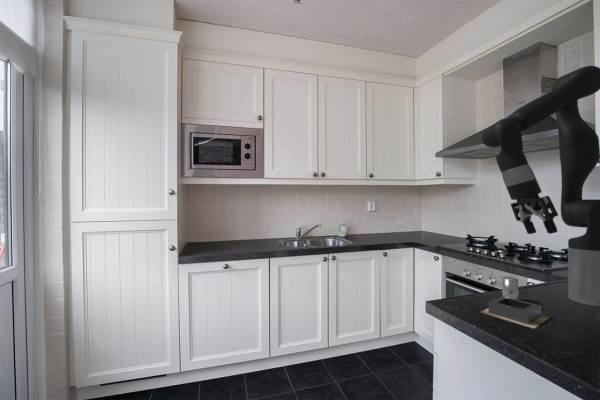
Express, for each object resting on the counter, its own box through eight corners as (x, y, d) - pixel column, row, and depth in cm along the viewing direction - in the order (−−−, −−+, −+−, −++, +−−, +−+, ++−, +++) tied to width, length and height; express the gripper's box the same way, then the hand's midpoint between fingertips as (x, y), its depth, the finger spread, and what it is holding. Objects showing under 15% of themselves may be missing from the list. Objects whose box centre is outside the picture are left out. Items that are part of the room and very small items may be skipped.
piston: (505, 300, 88) (505, 276, 88) (520, 304, 85) (520, 278, 85) (500, 303, 86) (500, 277, 86) (515, 307, 83) (515, 280, 83)
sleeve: (502, 305, 81) (502, 295, 81) (540, 316, 74) (540, 305, 74) (488, 312, 76) (488, 301, 76) (528, 324, 69) (528, 312, 69)
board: (498, 306, 83) (498, 303, 83) (550, 321, 73) (550, 317, 73) (480, 315, 77) (480, 312, 77) (534, 332, 67) (534, 328, 67)
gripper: (550, 173, 76) (575, 229, 73) (518, 183, 90) (538, 230, 87) (522, 180, 77) (546, 236, 74) (494, 189, 91) (514, 236, 88)
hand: (542, 233), depth 81 cm, fingers open, 8 cm apart
